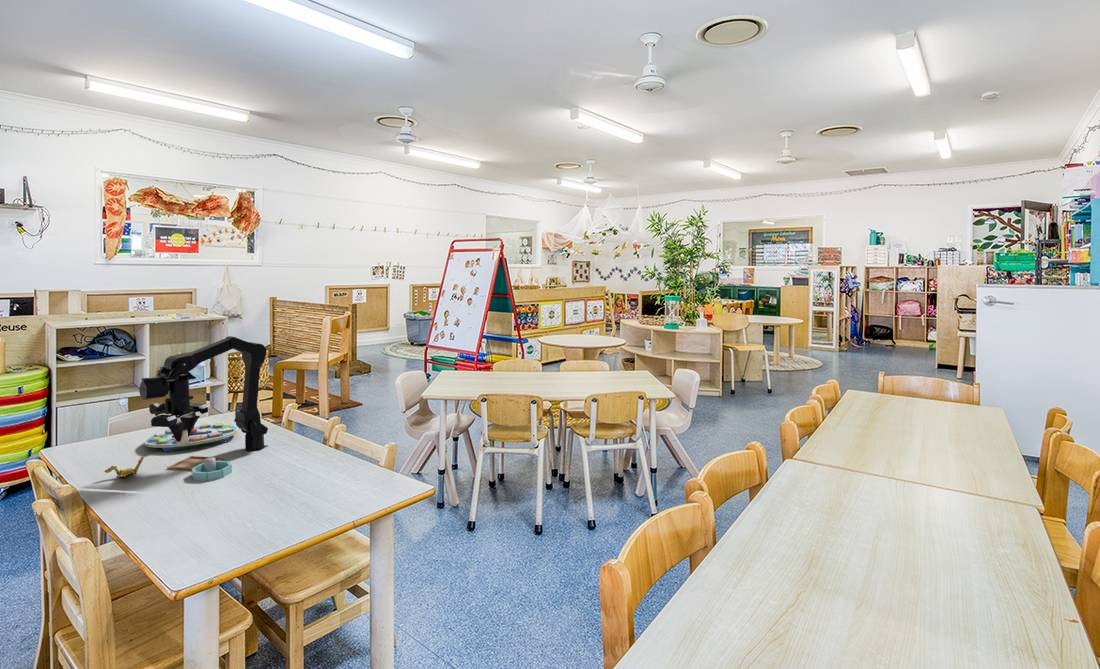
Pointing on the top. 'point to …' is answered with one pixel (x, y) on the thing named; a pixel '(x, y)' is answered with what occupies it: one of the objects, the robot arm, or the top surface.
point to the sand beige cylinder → (184, 438)
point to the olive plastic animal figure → (126, 471)
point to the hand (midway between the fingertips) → (182, 440)
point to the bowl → (221, 471)
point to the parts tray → (190, 463)
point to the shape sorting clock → (193, 436)
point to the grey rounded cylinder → (210, 464)
